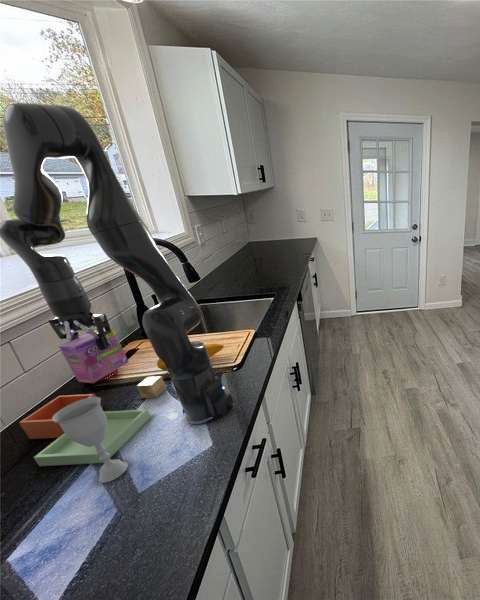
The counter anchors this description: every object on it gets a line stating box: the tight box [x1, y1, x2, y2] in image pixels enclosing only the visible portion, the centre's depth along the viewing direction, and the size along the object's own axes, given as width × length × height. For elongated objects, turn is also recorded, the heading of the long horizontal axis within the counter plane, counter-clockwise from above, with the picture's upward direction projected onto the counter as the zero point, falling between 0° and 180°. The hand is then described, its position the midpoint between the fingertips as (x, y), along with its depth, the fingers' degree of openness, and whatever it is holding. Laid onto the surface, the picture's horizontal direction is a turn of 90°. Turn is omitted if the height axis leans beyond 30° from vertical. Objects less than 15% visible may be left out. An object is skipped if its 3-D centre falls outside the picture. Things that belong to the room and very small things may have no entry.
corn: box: [156, 342, 224, 371], centre depth 109 cm, size 7×8×20 cm
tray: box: [33, 408, 152, 467], centre depth 79 cm, size 16×15×3 cm
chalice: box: [52, 396, 129, 484], centre depth 67 cm, size 7×7×18 cm
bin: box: [18, 393, 104, 440], centre depth 84 cm, size 10×10×6 cm
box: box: [58, 328, 130, 384], centre depth 90 cm, size 10×6×12 cm, turn 169°
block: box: [136, 375, 167, 399], centre depth 95 cm, size 4×4×4 cm
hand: (93, 349), depth 89 cm, fingers closed on box, 6 cm apart
